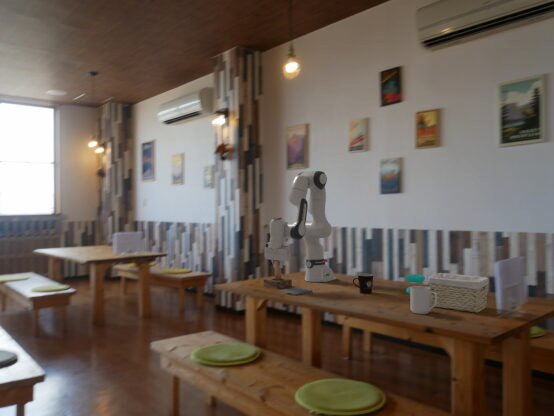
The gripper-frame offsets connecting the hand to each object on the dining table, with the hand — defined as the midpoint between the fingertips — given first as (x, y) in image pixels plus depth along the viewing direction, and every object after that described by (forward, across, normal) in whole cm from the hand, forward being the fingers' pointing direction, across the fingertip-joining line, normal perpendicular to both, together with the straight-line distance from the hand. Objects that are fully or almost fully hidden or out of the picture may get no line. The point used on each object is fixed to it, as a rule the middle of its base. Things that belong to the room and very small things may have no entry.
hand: (277, 267), depth 271 cm
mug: (+12, -94, -5) cm, 95 cm away
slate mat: (+12, -17, +2) cm, 21 cm away
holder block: (+12, 0, 0) cm, 12 cm away
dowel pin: (+8, 0, 0) cm, 8 cm away
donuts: (+13, -68, -40) cm, 80 cm away
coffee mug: (+13, -46, -22) cm, 53 cm away
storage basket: (+13, -100, -25) cm, 104 cm away
